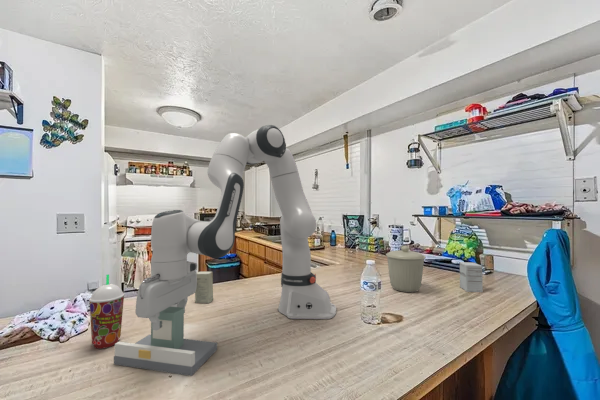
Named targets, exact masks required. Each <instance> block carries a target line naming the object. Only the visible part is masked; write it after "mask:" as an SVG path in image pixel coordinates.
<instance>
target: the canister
mask: <svg viewBox="0 0 600 400" xmlns="http://www.w3.org/2000/svg"><path fill="white" fill-rule="evenodd" d="M385 256H386V258H387V267H388V276H389V283H390V286H391V287H392V288H393V290H395V291H399V292H405V293H415V292H418V291H419V290H420V288H421V286H422V281H423V272H424V262H425V259H426V255H423V253H421V252H418V251H414V250H410V247H409V246H408V245H401V248H400V250H391V251H389V252H387V253H385Z"/></svg>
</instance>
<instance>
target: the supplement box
mask: <svg viewBox="0 0 600 400" xmlns="http://www.w3.org/2000/svg"><path fill="white" fill-rule="evenodd" d="M459 288H461V289H463V290H464V291H465V292H468V293H469V292H470V293H483V291H484V290H483V289H484V288H483V265H481V264H478V263H477V262H473V261H472V262H469V261H468V262H466V261H465V262H464V261H463V262H461V261H459Z"/></svg>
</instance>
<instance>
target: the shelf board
mask: <svg viewBox="0 0 600 400" xmlns="http://www.w3.org/2000/svg"><path fill="white" fill-rule="evenodd" d="M217 350H218V342H216V341H208V340H200V339H199V340H198V339H189V338H184V342H183V345H182V346H181V347H180V348H178V349H173V348H165V347H157V346H151V334H148V335H146V336H145V337H142V338H141V339H140V340H138V341H136V342H135V343H132V342H126V341H118V342H117V343H115V345H114V356H113V365H116V366H121V367H122V366H123V367H131V368H134V369H135V368H137V369H144V370H149V371H150V370H151V371H157V372H164V373H168V374H169V373H170V374H177V375H182V376H184V375H185V376H188V377H189V376H190V377H192V376H193V375H194V374H195V373H196V372H197V371H198V370H199V369H200V368H201V367H202V366H203V364H205V363H206V362H207V361H208V360H209V359H210V358H211V356H213V355H214V353H216V352H217Z"/></svg>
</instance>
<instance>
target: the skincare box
mask: <svg viewBox="0 0 600 400" xmlns="http://www.w3.org/2000/svg"><path fill="white" fill-rule="evenodd" d="M196 273H197V288H196V291H195V293H194V302H195V304H210V303H211V302H212V301H213V300H214V288H213V287H214V284H213V283H214V279H213V278H214V276H213V271H198V272H196Z"/></svg>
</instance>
